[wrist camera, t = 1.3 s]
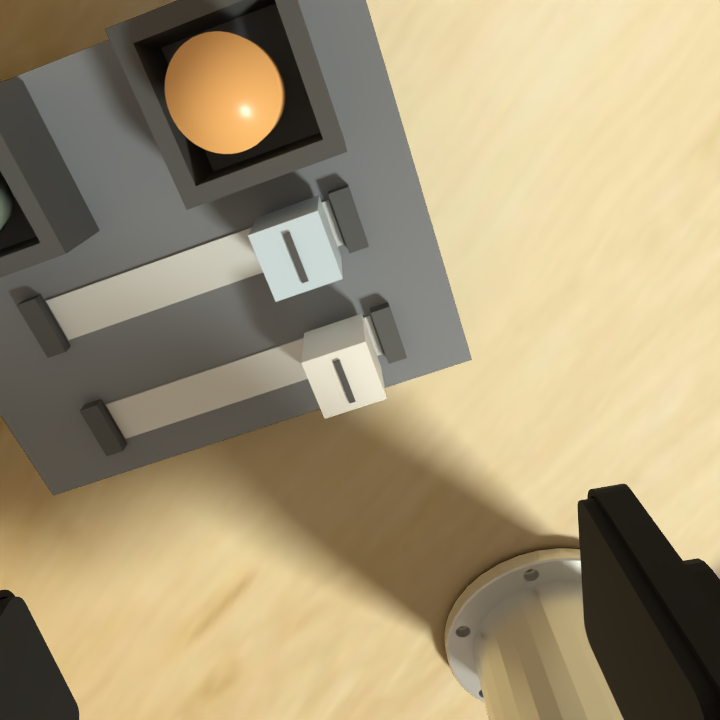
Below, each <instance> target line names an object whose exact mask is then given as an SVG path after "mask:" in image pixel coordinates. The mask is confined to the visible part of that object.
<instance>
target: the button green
mask: <svg viewBox="0 0 720 720" xmlns="http://www.w3.org/2000/svg"><path fill="white" fill-rule="evenodd" d="M11 213H12V197H11V192H10V189H9V186H8V184H7V182H6V180H5V178H4V177H3V175H2V174H1V172H0V233H1V232H2V231H3V230H4V228H5V227H6V226H7V224H8V222H9V220H10V217H11Z"/></svg>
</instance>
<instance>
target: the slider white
mask: <svg viewBox="0 0 720 720" xmlns="http://www.w3.org/2000/svg"><path fill="white" fill-rule="evenodd" d="M301 364H302V366H303V368H304V371H305V373H306V376H307V378H308V380H309V383H310V385H311V388H312V390H313V392H314V395H315V397H316V399H317V402H318V404H319V407H320V409H321V411H322V414H323V416H324V419H326V418H329V417H332V416H335V415H338V414H342V413H345V412H348V411H351V410H354V409H357V408H360V407H363V406H366V405H369V404H373V403H376V402H379V401H382V400H385V399H387V398H386V392H385V387H384V381H383V375H382V370H381V365H380V362H379V360H378V357H377V354H376V351H375V348H374V346H373V343H372V340H371V337H370V335H369V332H368V329H367V326H366V324H365V321H364V318H363V315H362V314H359V315H356V316H353V317H350V318H347V319H344V320H341V321H338V322H335V323H332V324H329V325H326V326H323V327H320V328H317V329H314V330H311V331H309V332H306V333H304V340H303V350H302V360H301Z"/></svg>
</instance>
